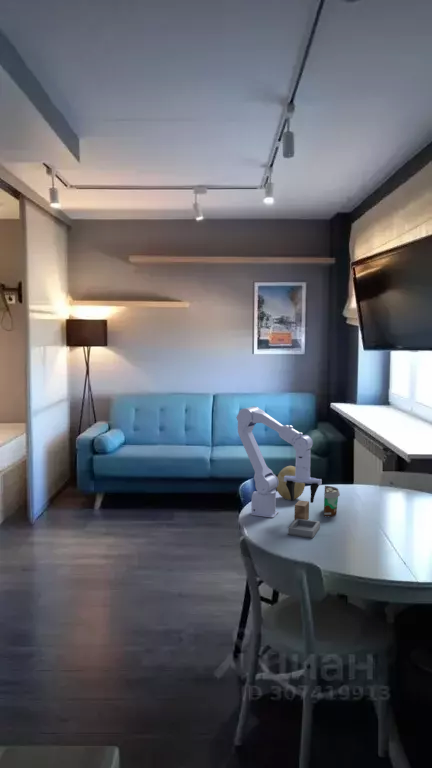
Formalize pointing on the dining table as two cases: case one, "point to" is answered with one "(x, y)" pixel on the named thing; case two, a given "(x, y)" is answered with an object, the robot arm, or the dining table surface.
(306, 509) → the brown block
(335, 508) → the food container
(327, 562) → the dining table surface
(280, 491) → the fossilized egg
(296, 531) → the grey shallow tray
